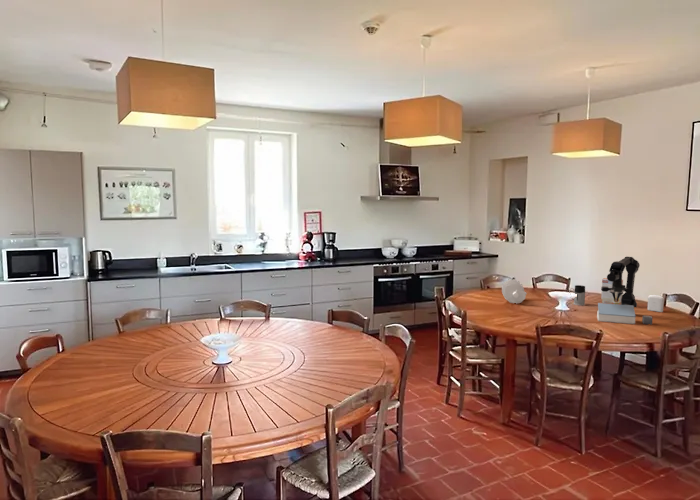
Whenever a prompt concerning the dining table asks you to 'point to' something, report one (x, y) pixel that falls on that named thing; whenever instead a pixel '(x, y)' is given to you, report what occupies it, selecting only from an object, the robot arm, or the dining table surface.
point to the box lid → (616, 310)
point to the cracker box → (608, 296)
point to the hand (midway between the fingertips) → (615, 301)
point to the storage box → (615, 318)
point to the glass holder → (579, 295)
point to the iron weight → (647, 320)
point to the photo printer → (655, 303)
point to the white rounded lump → (513, 291)
